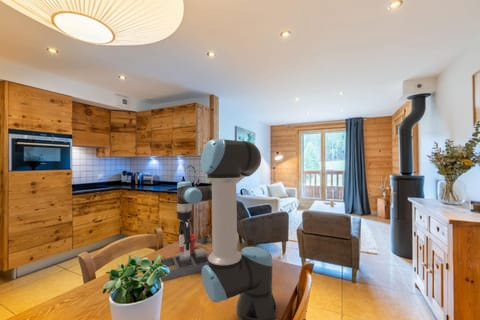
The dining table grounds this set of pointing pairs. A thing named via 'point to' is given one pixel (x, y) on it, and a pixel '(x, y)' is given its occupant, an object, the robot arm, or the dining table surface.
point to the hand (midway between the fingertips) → (184, 251)
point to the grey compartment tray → (184, 270)
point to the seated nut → (199, 255)
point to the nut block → (183, 260)
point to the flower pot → (190, 244)
